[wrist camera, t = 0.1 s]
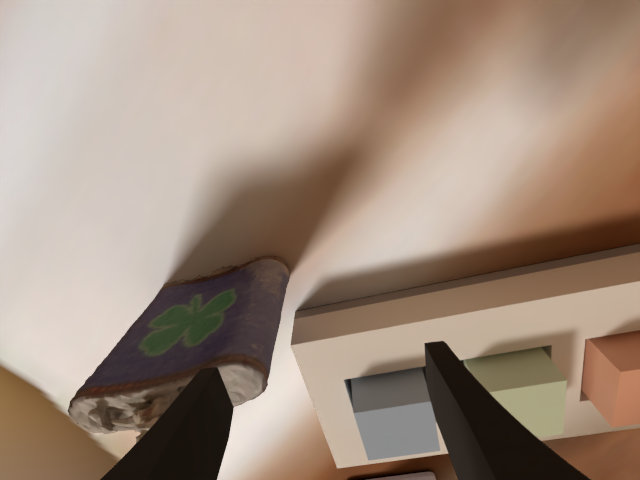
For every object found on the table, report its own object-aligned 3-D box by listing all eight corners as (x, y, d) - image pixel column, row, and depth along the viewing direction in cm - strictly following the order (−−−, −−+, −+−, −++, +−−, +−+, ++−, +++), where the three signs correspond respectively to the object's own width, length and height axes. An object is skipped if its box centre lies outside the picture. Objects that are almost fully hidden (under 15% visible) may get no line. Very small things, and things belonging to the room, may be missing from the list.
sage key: (536, 393, 22) (563, 434, 20) (467, 403, 23) (484, 444, 20) (537, 342, 21) (566, 380, 18) (462, 355, 21) (480, 393, 19)
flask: (282, 248, 21) (242, 397, 11) (298, 287, 22) (274, 451, 13) (150, 286, 22) (15, 446, 13) (172, 320, 24) (64, 490, 14)
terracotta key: (654, 375, 22) (697, 415, 19) (579, 387, 22) (611, 427, 20) (666, 320, 20) (716, 357, 17) (584, 334, 20) (620, 371, 18)
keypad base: (659, 379, 25) (702, 419, 22) (336, 427, 28) (337, 468, 25) (692, 233, 20) (753, 260, 17) (295, 311, 23) (290, 345, 20)
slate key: (428, 410, 23) (440, 450, 21) (364, 419, 24) (368, 460, 21) (419, 362, 21) (432, 401, 19) (350, 374, 22) (353, 413, 20)
